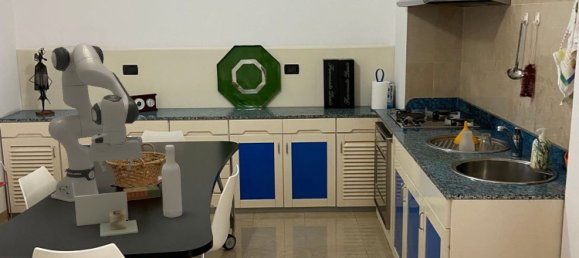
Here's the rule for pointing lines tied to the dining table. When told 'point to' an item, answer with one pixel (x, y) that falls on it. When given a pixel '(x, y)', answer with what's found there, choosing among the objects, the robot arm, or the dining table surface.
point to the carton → (142, 192)
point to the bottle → (171, 185)
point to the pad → (106, 230)
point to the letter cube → (118, 220)
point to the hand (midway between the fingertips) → (116, 170)
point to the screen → (99, 207)
